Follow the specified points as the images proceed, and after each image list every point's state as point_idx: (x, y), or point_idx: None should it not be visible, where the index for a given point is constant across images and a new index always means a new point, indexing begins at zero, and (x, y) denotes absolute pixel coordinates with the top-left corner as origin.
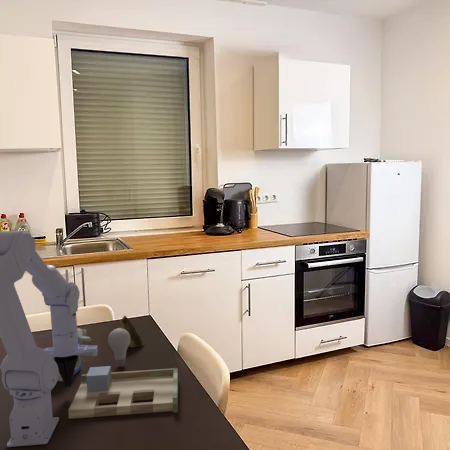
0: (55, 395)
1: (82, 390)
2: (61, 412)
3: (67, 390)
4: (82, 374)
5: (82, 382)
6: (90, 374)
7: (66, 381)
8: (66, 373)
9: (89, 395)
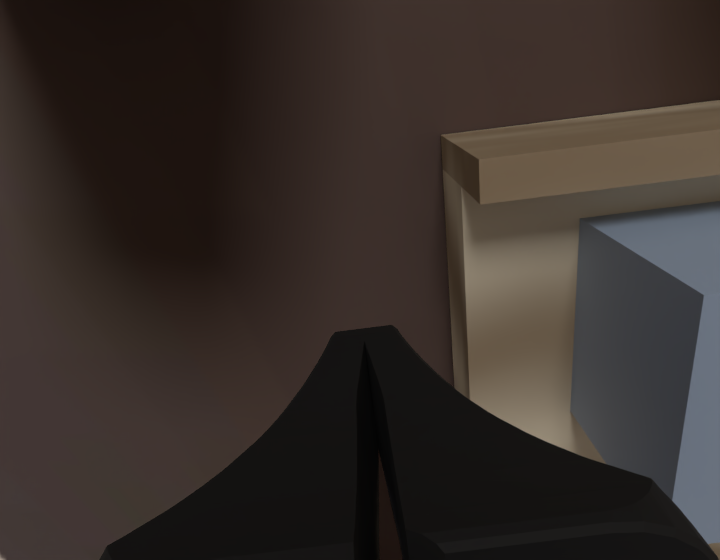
0: (218, 286)
1: (516, 380)
2: (386, 513)
3: (293, 191)
4: (484, 163)
5: (475, 212)
6: (718, 506)
7: (377, 473)
8: (372, 503)
9: (599, 461)
